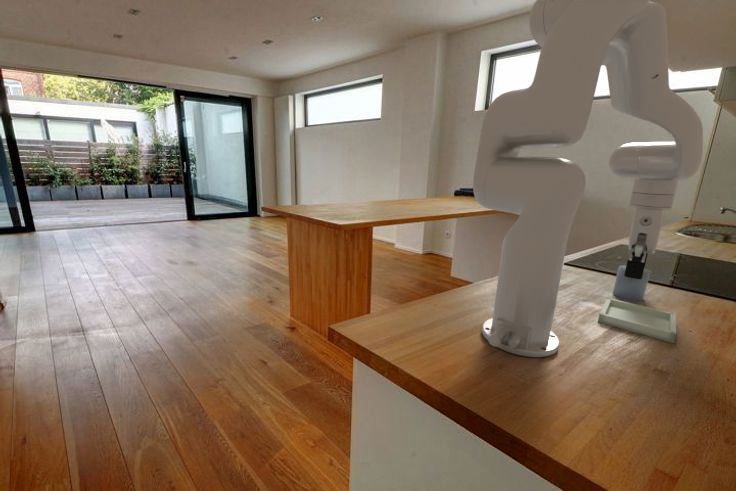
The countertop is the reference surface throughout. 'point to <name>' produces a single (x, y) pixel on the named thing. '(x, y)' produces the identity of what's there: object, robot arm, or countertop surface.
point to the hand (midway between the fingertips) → (634, 272)
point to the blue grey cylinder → (630, 285)
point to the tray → (639, 319)
